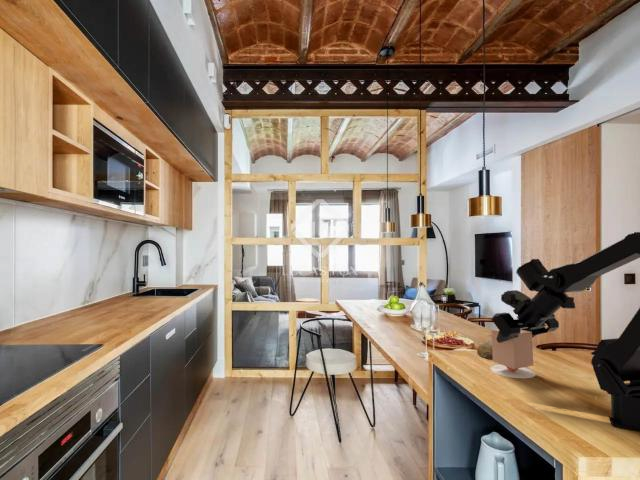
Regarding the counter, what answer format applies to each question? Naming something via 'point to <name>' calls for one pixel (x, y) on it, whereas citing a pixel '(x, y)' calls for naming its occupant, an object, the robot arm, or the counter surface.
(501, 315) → the robot arm
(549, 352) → the counter surface
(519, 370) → the plate
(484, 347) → the bread roll
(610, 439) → the counter surface
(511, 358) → the pink knobbed box
